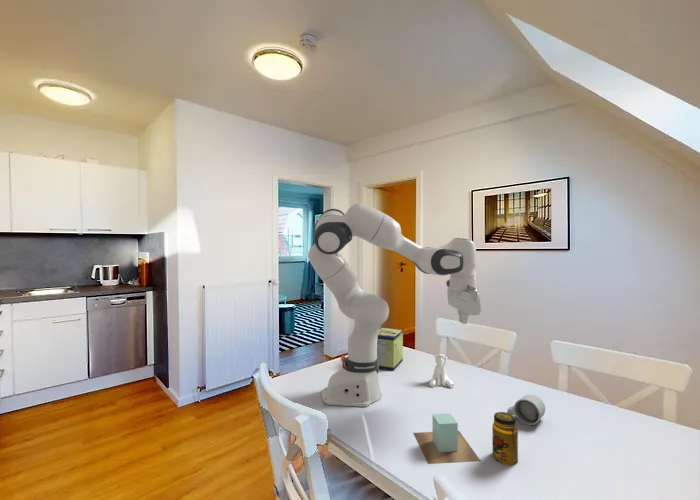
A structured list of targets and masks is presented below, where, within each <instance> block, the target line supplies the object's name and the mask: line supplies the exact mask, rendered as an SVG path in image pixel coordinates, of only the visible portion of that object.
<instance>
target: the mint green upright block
mask: <svg viewBox="0 0 700 500" xmlns="http://www.w3.org/2000/svg"><path fill="white" fill-rule="evenodd" d="M458 426H459V425H458V422H457V420H456V419H455V418H454V417H453V415H452V414H451V413H433V414H432V432H433V442H434V444H435V446H436V448H437V450H438V452H450V451H458V431H459V430H458V428H459V427H458Z"/></svg>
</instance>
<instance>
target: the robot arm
mask: <svg viewBox="0 0 700 500" xmlns="http://www.w3.org/2000/svg"><path fill="white" fill-rule="evenodd" d="M353 237H357V238H360V239H362V240H364V241H365V242H368V243H369V244H371V245H374V246H376V247H378V248H381V249H385V250H390V251H393V252H395V253H397V254H399V255H401V256H402V257H404V258H406V259H408V260H410V261H411V262H412V263H413V264H414V265H415V266H416V268H417V269H418V270H419V271H420V272H421V273H423V274H426V275H428V274H429V275H436V276H442V277H443V276H450V277H449V279H447V280H446V282H445V285H446V287H447V290H446V292H447V303H448V305H449V306H451V307H452V308H454V309H457V315H458V321H459V323H461V324H463V325H466V324H468V319H469V316H480V315H481V313H482V307H481V306H482V305H481V296H480V295H481V294H480V293H479V292H478V291H477V282H478V281H477V280H478V279H477V272H476V266H477V248H476V244H475V243H474V241H473V240H471V239H469V238H461V237H456V238H452V240H450V241H449V242H447V243H446V244H444V245H441V246H439V247H429V246H426V247H425V246H421V245H419V244H418V243H415V242H413V241H412V240H411V239H408V238H407V237H405V236H404V235H403V234H402V228H401V225H400V223H399V222H398V221H396V220H395V219H394V218H393V217H391V216H390V215H388V214H387V213H384V212H383V211H381V210H378V209H377V208H373V207H371V206H369V205H366V204H364V203H359V202H358V203H354V204H352V205H351V206H350V207H349V208H348V209H347V211H346V212H343V211H342V210H340V209H337V208H329V209H327V210H325V211H323V212H322V213H321V214H320V216H319V219H318V220H317V221H316V225H315V230H314V233H313V242H314V244H313V245H312V246H311V247H310V249H309V250H308V253H307V258H308V261H309V262H310V264H311V266H312V268H313V270H314V271H315V273H316V274H317V276H318V277H319V278H320V279H321V280H322V282H323V283H324V285H326V287H327V289H328V290H329V291H330V292H331V293H332V295H333V297H334V298H335V300H336V302H337V305H338V309H339V310H340V312H341V313H342V314H343V315H345V317H347V318H350V319H352V320H354V325H353V329H352V332H351V333H350V334H349V336H348V338H347V357H346V356H345V355H342V356H341V357H340V361H341V363H342V367H341V368H339V370H337V371H335V373H333V374H331V376H329V377H330V378H329V380H328V384H327V386H325V387H324V388H323V389H322V390H321V391H322V392H321V400H322V402H323V403H324V404H325V405H329V406H345V407H346V406H347V407H361V408H362V407H365V408H367V407H369V406H370V405H371V404H372V403H374V402H377V401H379V400H380V399H381V398H382V392H381V388H380V384H379V375H378V373H379V364H378V358H377V338H378V333H379V330H380V329H381V326H382V325H383V324H384V323H386V321H387V320H388V318H389V315H390V306H389V304H388V302H387V301H386V300H384V299H383V298H382V297H380V296H378V295H377V294H372V293H368V292H365V291H363V289H362V288H361V287H360V285H359V282H358V275H357V274H356V272H355V271H354V270H353V268H352V267H351V265H349V263H348V262H347V260H346V259H345V258H344V256H343V255H342V254H341V252H340V251H342V250H343V249H344V247H346V246H347V245H348V244H349V243H350V242H351V241H352V239H353Z"/></svg>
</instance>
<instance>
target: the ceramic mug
mask: <svg viewBox="0 0 700 500" xmlns="http://www.w3.org/2000/svg"><path fill="white" fill-rule="evenodd" d="M545 412H546V406H545V403H544V401H543V399H541V398H540V397H539V396H537V395H535V394H527V395H524V396H522V397H520V399H518V400H516V402H515V404H514V405H512V406H510V407H508V408H507V413H509V414H511V415H513V416H515V417H516V418H517V419H518V420H519V422H521V423H522V424H525V425H528V426H533V425H537V424H538V423H539V422H540V421H541V419H542V418H543V416H544V414H545Z"/></svg>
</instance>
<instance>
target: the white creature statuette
mask: <svg viewBox="0 0 700 500" xmlns="http://www.w3.org/2000/svg"><path fill="white" fill-rule="evenodd" d="M433 357H434V358H435V359H434V360H435V363H436V365H435V367H434V369H433V370H434V372H433V374H432V378H431V379H430V381H429V384H428V385H429V386H430V387H431V388H434V387H447V388H450V389H453V388H454V387H455V385H454V383H453V381H452V380H451V379H450V378H449V377H448V374H447V368H446V367H445V366H446V364H447V363H448V362H447V361H448V358H449V357H448V356H445V355H444V354H443V353H440V354H437V355H436V354H433Z"/></svg>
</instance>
